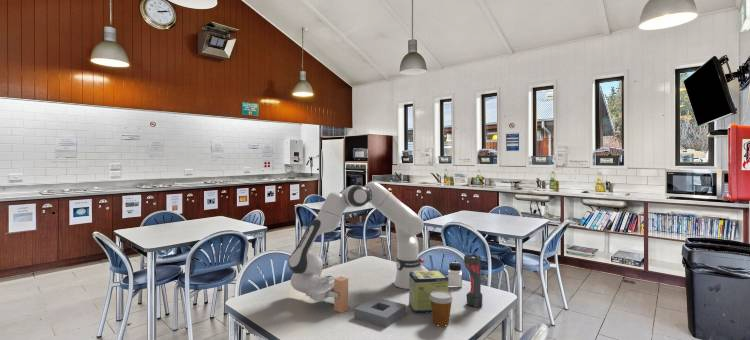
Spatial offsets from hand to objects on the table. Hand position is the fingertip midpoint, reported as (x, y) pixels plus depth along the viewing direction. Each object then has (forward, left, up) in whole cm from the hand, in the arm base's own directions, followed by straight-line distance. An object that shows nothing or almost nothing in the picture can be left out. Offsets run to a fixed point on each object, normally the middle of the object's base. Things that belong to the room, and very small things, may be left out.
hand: (342, 293), depth 165 cm
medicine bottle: (-66, -5, -8) cm, 66 cm away
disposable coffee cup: (-32, +29, -8) cm, 44 cm away
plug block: (0, -1, -8) cm, 8 cm away
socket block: (-13, +12, -8) cm, 19 cm away
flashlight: (-57, +19, -8) cm, 60 cm away
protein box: (-36, +14, -8) cm, 39 cm away
